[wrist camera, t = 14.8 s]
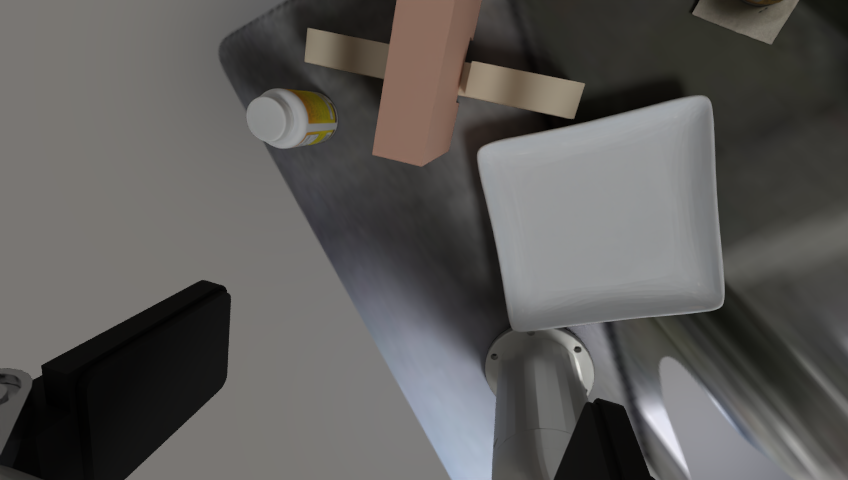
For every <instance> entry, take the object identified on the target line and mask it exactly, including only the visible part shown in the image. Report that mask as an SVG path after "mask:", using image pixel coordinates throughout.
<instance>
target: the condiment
mask: <svg viewBox="0 0 848 480" xmlns="http://www.w3.org/2000/svg"><path fill="white" fill-rule="evenodd" d="M798 1H799V0H700V1H699V2H698V4H697V6H696V8H695V10H694V11H693V13H692V14H693V15H695V16H698V17H701V18H702V19H705V20H707V21H710V22H712V23H715V24H718V25H720V26H723V27H725V28H728V29H731V30H733V31H736V32H737V33H741V34H744V35H747V36H750V37H752V38H754V39H757V40H760V41H763V42H766V43H768V44H772V42H773V41H774V39H775V38H776V36H777V35H778V33H779V31H780V30H781V28H782V26H783V25H784V23H785V22H786V20H787V19H788V17H789V15H790V13H791V12H792V10H793V9H794V8H795V6H796V4H797V2H798ZM766 7H768V9H766V10H764V8H766ZM761 10H763V12H761V13H758V12H759V11H761Z"/></svg>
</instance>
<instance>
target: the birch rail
mask: <svg viewBox="0 0 848 480" xmlns="http://www.w3.org/2000/svg"><path fill="white" fill-rule="evenodd" d="M389 46H390V44H386V43H381V42H376V41H371V40H366V39H361V38H356V37H351V36H346V35H341V34H336V33H331V32H326V31H321V30H316V29H311V28H308V30H307V41H306V51H305V61H304V62H308V63H312V64H316V65H320V66H324V67H328V68H333V69H338V70H342V71H347V72H352V73H356V74H361V75H366V76H370V77H375V78H380V79H384V77H385V71H386V65H387V58H388V52H389ZM584 85H585V83H580V82H575V81H570V80H565V79H560V78H555V77H550V76H545V75H540V74H535V73H530V72H525V71H520V70H515V69H510V68H505V67H500V66H495V65H490V64H485V63H480V62H475V61H472V63H467V62H465V64H464V68H463V73H462V77H461V82H460V87H459V91H458V95H459V96H464V97H469V98H473V99H478V100H483V101H488V102H492V103H497V104H502V105H506V106H511V107H516V108H520V109H525V110H530V111H534V112H539V113H544V114H548V115H553V116H558V117H563V118H568V119H574V117H575V114H576V111H577V108H578V104H579V101H580V98H581V95H582V92H583V88H584Z"/></svg>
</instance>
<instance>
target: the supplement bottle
mask: <svg viewBox="0 0 848 480" xmlns="http://www.w3.org/2000/svg"><path fill="white" fill-rule="evenodd" d="M246 120H247V124H248V127H249V129H250V131H251V132H252V133H253V135H254V136H256V137H257V138H258V139H260V140H262V141H266V142H267V143H268V144H270V145H272V146H274V147H277V148H283V149H285V148H293V147H299V146H305V145H311V144H318V143H322V142H325V141H327V140H328V139H330V138H331V137H332V135H333V134H334V133H335V131H336V128H337V124H338V116H337V111H336V109H335V106H334V105H333V103H332V102H331V101H330V99H329V98H327V97H326V96H325V95H323V94H321V93H318V92H311V91H301V90H292V89H281V88H276V89H270V90H268V91H266V92H264V93H263V94H262V95H261V96H260V97H258V98H256V99H254V100H253V101H252V102H251V103H250V104H249V106H248V109H247V112H246Z"/></svg>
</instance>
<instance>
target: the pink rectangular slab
mask: <svg viewBox="0 0 848 480" xmlns="http://www.w3.org/2000/svg"><path fill="white" fill-rule="evenodd" d="M481 2H482V0H397V2H396V8H395V14H394V20H393V27H392V33H391V39H390V46H389V52H388V58H387V65H386V71H385V77H384V83H383V90H382V96H381V102H380V109H379V115H378V121H377V127H376V134H375V140H374V146H373V153H372V155H376V156H380V157H384V158H388V159H392V160H396V161H401V162H405V163H409V164H413V165H417V166H421V167H422V166H423V165H425V164H427V163H429V162H430V161H432V160H434V159H436V158H437V157H439V156H441V155H442V154H444V153H446V152H448V151H449V147H450V142H451V138H452V133H453V129H454V124H455V120H456V115H457V111H458V106H459V103H456V100H457V96H458V91H459V87H460V82H461V77H462V73H463V68H464V64H465V59H466V55H467V50H468V45H469V41H473V38H474V34H475V29H476V25H477V20H478V15H479V11H480V6H481Z"/></svg>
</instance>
